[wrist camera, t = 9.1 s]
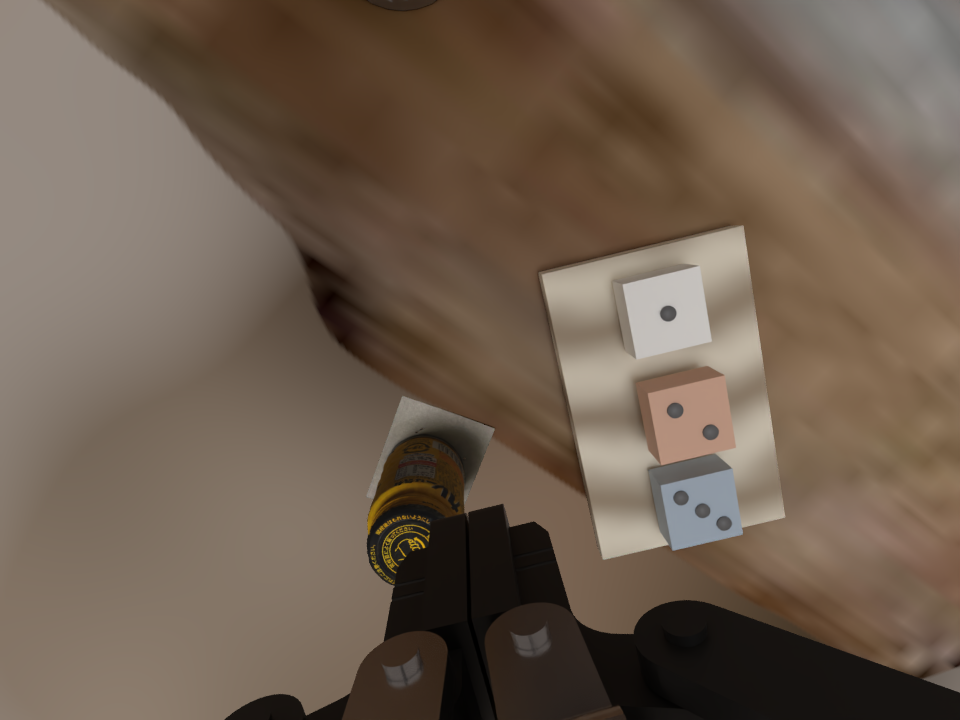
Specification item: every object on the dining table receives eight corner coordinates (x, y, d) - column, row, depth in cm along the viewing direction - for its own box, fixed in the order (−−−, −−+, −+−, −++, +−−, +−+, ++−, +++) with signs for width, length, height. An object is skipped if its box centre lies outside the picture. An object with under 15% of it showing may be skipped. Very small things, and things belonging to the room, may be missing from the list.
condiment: (366, 495, 47) (335, 584, 35) (402, 395, 46) (382, 452, 34) (456, 525, 48) (455, 621, 36) (494, 427, 46) (506, 494, 35)
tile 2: (635, 382, 42) (648, 394, 39) (707, 365, 42) (726, 375, 39) (648, 450, 43) (662, 466, 40) (718, 433, 43) (737, 448, 40)
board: (537, 272, 44) (544, 276, 40) (730, 225, 44) (754, 225, 40) (597, 546, 49) (608, 571, 45) (771, 505, 48) (796, 527, 45)
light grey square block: (611, 280, 42) (623, 284, 39) (684, 263, 42) (701, 266, 39) (625, 351, 43) (637, 360, 40) (695, 334, 43) (713, 342, 40)
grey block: (648, 469, 45) (661, 486, 42) (715, 453, 45) (733, 469, 42) (659, 531, 46) (673, 552, 43) (726, 516, 46) (744, 535, 43)
